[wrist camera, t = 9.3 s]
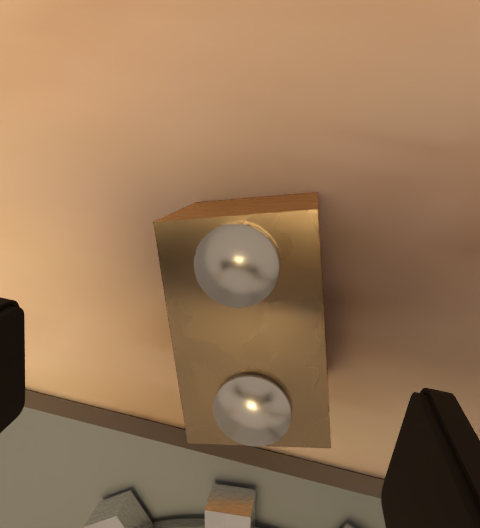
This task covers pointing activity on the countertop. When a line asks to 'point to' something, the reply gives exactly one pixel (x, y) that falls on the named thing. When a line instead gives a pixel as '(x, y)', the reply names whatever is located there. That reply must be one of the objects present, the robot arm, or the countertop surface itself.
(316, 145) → the countertop surface
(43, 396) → the sprocket base
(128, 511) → the sprocket
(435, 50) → the countertop surface
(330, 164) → the countertop surface
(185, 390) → the brown rectangular block
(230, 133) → the countertop surface
